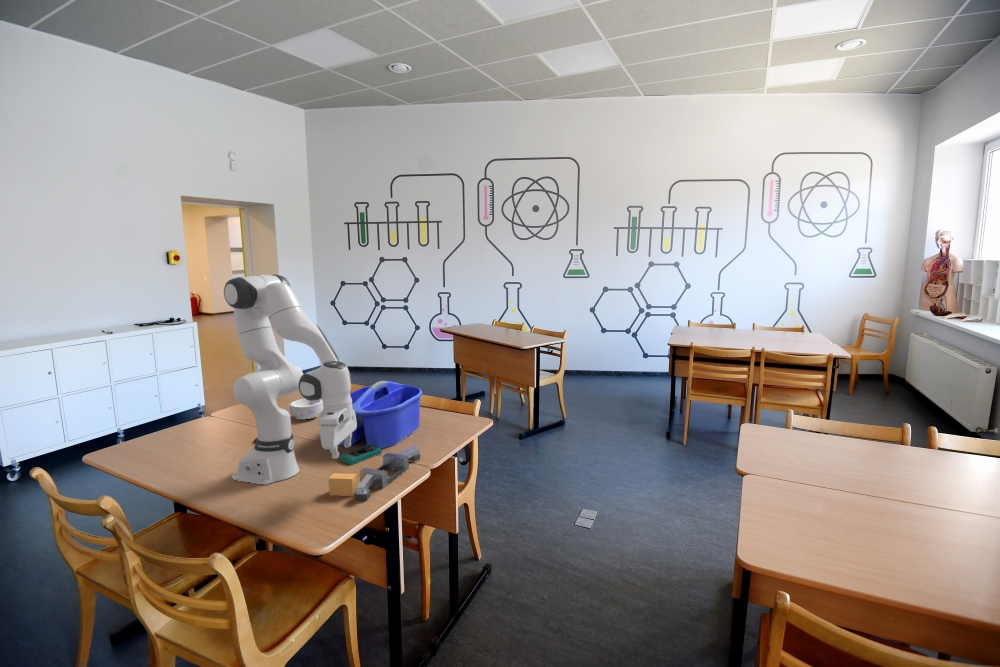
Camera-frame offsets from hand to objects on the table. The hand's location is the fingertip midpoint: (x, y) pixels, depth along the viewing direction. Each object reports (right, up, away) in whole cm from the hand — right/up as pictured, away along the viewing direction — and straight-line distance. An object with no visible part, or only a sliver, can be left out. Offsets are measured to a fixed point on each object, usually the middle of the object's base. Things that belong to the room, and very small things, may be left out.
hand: (341, 452), depth 165 cm
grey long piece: (+11, -12, +14) cm, 22 cm away
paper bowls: (-43, -3, +82) cm, 92 cm away
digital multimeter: (-3, -10, +32) cm, 34 cm away
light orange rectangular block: (0, -14, +2) cm, 14 cm away
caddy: (-1, -6, +58) cm, 59 cm away
